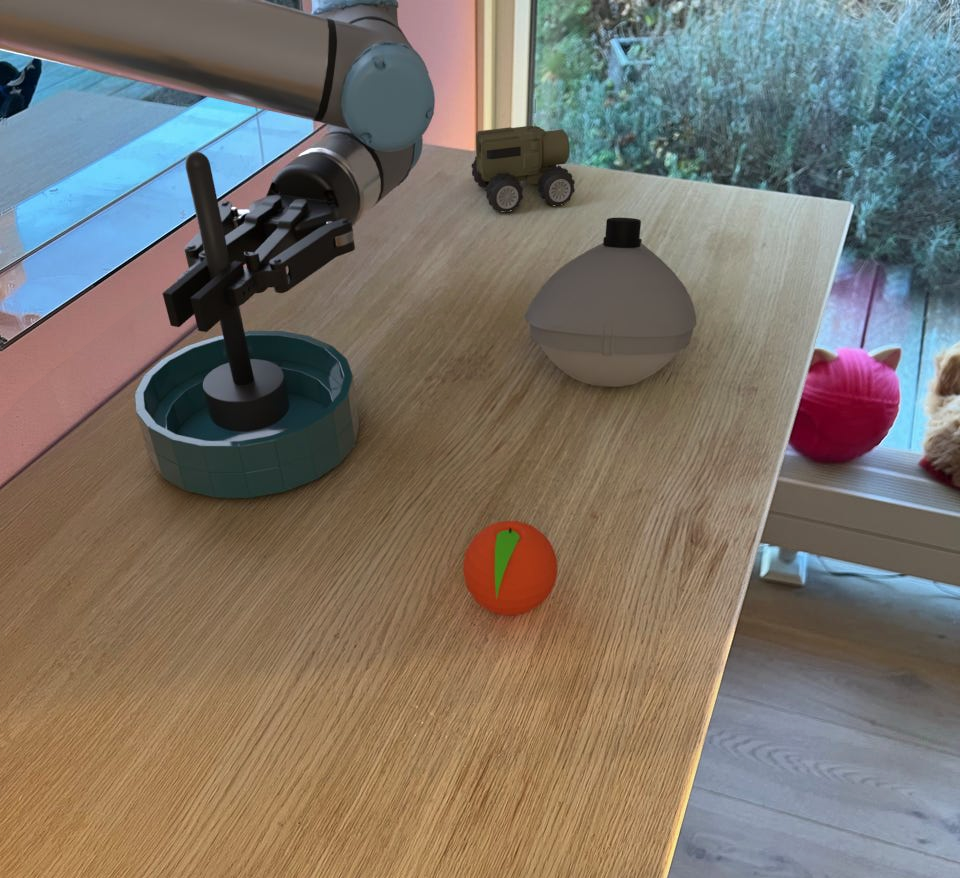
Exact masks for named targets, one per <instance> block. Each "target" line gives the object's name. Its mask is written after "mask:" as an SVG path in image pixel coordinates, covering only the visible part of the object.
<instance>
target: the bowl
mask: <svg viewBox="0 0 960 878" xmlns="http://www.w3.org/2000/svg"><path fill="white" fill-rule="evenodd" d="M244 332H245V337H246V342H247V347H248V352H249V356H250V359H259V360H265V361H269V362H272V363H274V364H276V365H277V366H279V367H280V368H281V369H282V371H283V373H284V377H285V383H286V388H287V394H288V399H289V410H288V412H287V414H286V415H285V416H284V417H283V418H282V419H281V420H280V421H278V422H277V423H275V424H273V425H271V426H269V427H266V428H263V429H259V430H254V431H245V432H239V431H230V430H226V429H223V428H221V427H219V426H217V425H216V424H215V423H214V422H213V421H212V420H211V418H210V414H209V410H208V406H207V402H206V398H205V394H204V390H203V381H204V379H205V377H206V376H207V375H208V374H209V373H210V372H211V371H212V370H214V369H215V368H217V367H219V366H221V365H223V364H226V363H229V361H228V356H227V352H226V347H225V343H224V338H223V334H221V335H218V336H213V337H211V338H208V339H205V340H201V341H199V342H195V343H192V344H189V345H187V346H184V347H183V348H181V349H179V350H177V351H175V352H173V353H171V354H170V355H169V354H168V355H167V356H166V357H163V358H162V359H161V360H160V361H159V362H157V363H156V365H154V366H153V367H152V368H151V369H149V370H148V371H147V372H146V373H145V374H144V375H143V377H142V378H141V381H140V382H139V385H138V386H137V388H136V390H135V392H134V402H135V403H134V405H135V413H136V417H137V420H138V424H139V426H140V430H141V433H142V436H143V440H144V443H145V446H146V450H147V453H148V456H149V460H150V462H151V464H152V465H153V466H154V468H155V469H156V470H157V472H158V473H159V474H160V476H161V478H162V479H164V480H166V481H167V482H169V483H170V484H172V485H174V486H175V487H178V488H179V489H181V490H184V491H186V492H189V493H194V494H199V495H201V496H202V495H203V496H206V497H212V498H218V499H219V498H223V499H224V498H225V499H226V498H227V499H228V498H229V499H232V498H233V499H242V498H243V499H250V498H257V497H258V498H259V497H263V496H267V495H274V494H279V493H280V494H281V493H284V492H287V491H290V490H293V489H295V488H298V487H300V486H303V485H306V484H308V483H311V482H313V481H316V480H318V479H319V478H321V477H322V476H323V475H325V474H326V473H328V472H330V471H331V470H333V469H334V468H336V467H337V466H339V465H340V464H341V463H342V462H343V461H344V459H345V458H346V457H347V456H348V454H349V453H350V451H352V449H353V448H354V447H355V445H356V442H357V438H358V433H359V428H360V419H359V413H358V404H357V397H356V388H355V382H354V374H353V372H352V369H351V366H350V363H349V360H348V359H347V358H346V357H345V356H344V355H343V354H342V353H341V352H339V350H338V349H336V348H335V347H334V346H333V345H331V344H329V343H327V342H325V341H322V340H320V339H318V338H315V337H312V336H310V335H305V334H301V333H295V332H289V331H284V330H283V331H282V330H250V331H249V330H248V331H244Z"/></svg>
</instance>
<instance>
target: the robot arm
mask: <svg viewBox="0 0 960 878" xmlns="http://www.w3.org/2000/svg"><path fill="white" fill-rule="evenodd" d="M398 8H399V2H398V1H397V0H311V12H309V11H305V10H301V9H297V8H294V7H289V6H286V5H282V4H279V3H275V2H271V1H267V0H0V51H3V52H7V53H12V54H15V55H21V56H24V57H30V58H34V59H38V60H43V61H46V62H51V63H56V64H61V65H64V66H69V67H74V68H78V69H83V70H87V71H90V72H91V71H92V72H95V73H100V74H105V75H109V76H114V77H118V78H123V79H127V80H132V81H135V82H139V83H140V82H141V83H145V84H148V85H153V86H158V87H162V88H167V89H172V90H175V91H176V90H177V91H180V92H185V93H190V94H192V95H193V94H194V95H198V96H202V97H207V98H211V99H214V100H215V99H216V100H220V101H225V102H228V103H233V104H238V105H242V106H247V107H250V108H251V107H252V108H256V109H259V110H265V111H269V112H274V113H278V114H283V115H286V116H287V115H288V116H291V117H295V118H300V119H305V120H308V121H314V122H318V123H322V124H325V125H326V128H327V132H326V133H325V135H323V136H322V137H321V138H320V139H318V140H317V141H316V142H314V143H313V144H311V145H310V146H309V147H308V148H306V149H305V150H304V151H302V152H301V153H300V154H299V155H298V156H297V157H296V158H294V159H293V160H292V161H290V162H288V164H287V165H285V166H284V167H283V168H281V169H280V170H278V171H277V173H276V174H275V175H274V177H273V178H272V181H271V183H270V185H269V188H268V191H267V193H266V196H264V197H261V198H260V199H257V200H254V201H253V202H252V203H250V205H249V206H248V208H238V207H237V206H233V203H232V202H231V201H229V200H223V201H220V202H218V206H219V210H220V215H221V220H222V225H223V230H224V235H225V240H226V244H227V249H228V254H229V259H230V265H229V266H228V267H227V268H225V269H224V270H223V271H222V272H221V273H220V274H218V275H217V276H216V277H215V278H214V279H212V280H210V275H209V271H208V266H207V262H206V257H205V253H204V248H203V244H202V239H201V235H200V230H199V231H198V232H197V233H196V235H194V236H193V237H192V238H191V239H190V241H188V243H186V245H185V246H184V248H183V250H184V253H185V259H186V262H187V267H188V269H187V270H186V271H184V272H183V273H181V274H180V275H179V276H178V278H177V281H175V282H174V283H173V284H172V285H171V286H170V287H168V288H167V289H165V290H164V291H162V297H163V301H164V305H165V309H166V312H167V317H168V320H169V324H170V327H175V328H180V327H181V326H182V325H184V324H185V323H186V322H187V321H188V320H190V318H192V317H193V316H194V319H195V323H196V327H197V331H198V332H202V333H203V332H204V333H208V332H209V331H210V330H211V329H212V328H213V327H214V326H216V324H218V323H220V320H221V319H222V318H223V317H224V316H225V315H226V314H227V313H229V312H230V311H231V310H232V309H233V308H234V307H235V306H239V307H240V306H242V305H244V304H245V303H246V302H248V301H249V299H251V297H253V296H254V295H256V294H262V293H265V291H267V290H268V289H269V288H273V290H274V292H275V293H278V294H284V293H287V292H289V291H290V290H291V289H293V288H295V287H296V286H297V285H299V284H300V283H302V282H303V281H305V280H306V279H307V278H309V277H310V276H311V275H313V274H314V273H316V272H318V270H320V269H322V268H323V267H324V266H326V265H327V264H329V263H330V262H332V261H333V260H334V259H335V258H338V257H341V256H343V255H346V254H348V253H351V252H353V251H355V249H356V245H355V236H354V229H353V226H355V225H356V224H357V223H358V222H359V221H360V220H361V219H362V218H363V217H364V216H365V215H367V213H369V212H370V210H372V209H373V208H374V207H375V206H376V205H377V204H378V203H380V201H382V200H383V199H384V198H385V197H386V196H387V195H388V194H390V193H391V192H392V191H393V190H394V189H396V188H397V187H399V186H400V184H402V183H403V182H404V181H405V180H407V178H408V176H410V175H409V174H410V172H411V171H412V170H413V169H414V168H415V166H416V165H417V163H418V162H419V160H420V159H421V154H422V152H423V143H424V142H423V140H424V139H423V136H424V134H425V133H426V132H427V130H428V128H429V126H430V125H431V122H432V119H433V116H434V114H435V104H436V103H435V102H436V98H435V97H436V95H435V89H434V85H433V82H432V79H431V77H430V73H429V70H428V67H427V65H426V63H425V61H424V60H423V58H422V56H421V55H420V54H419V53H418V51H417V50H415V49H414V47H413V46H412V44H411V43H410V42H409V40H408V38H407V37H406V36H405V33H404V32H403V30H402V28H401V27H400V26H399V21H398V19H399V18H398ZM244 266H246V267H245V268H244ZM287 270H288V272H287Z"/></svg>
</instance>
